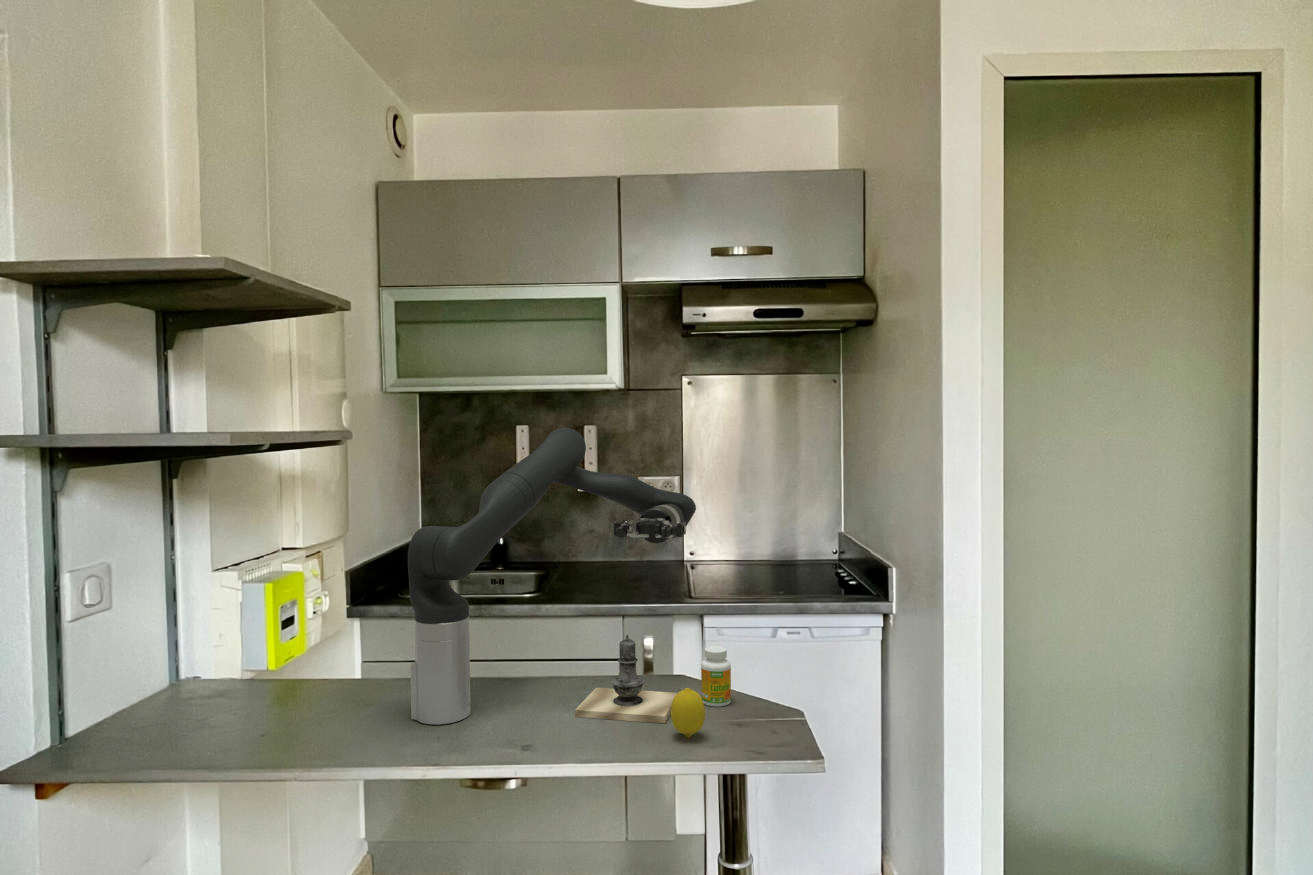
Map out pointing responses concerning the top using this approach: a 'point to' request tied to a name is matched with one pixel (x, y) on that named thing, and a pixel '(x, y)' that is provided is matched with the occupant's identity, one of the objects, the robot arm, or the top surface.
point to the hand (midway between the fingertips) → (641, 533)
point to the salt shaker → (627, 676)
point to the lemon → (688, 712)
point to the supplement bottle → (716, 677)
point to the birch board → (649, 710)
